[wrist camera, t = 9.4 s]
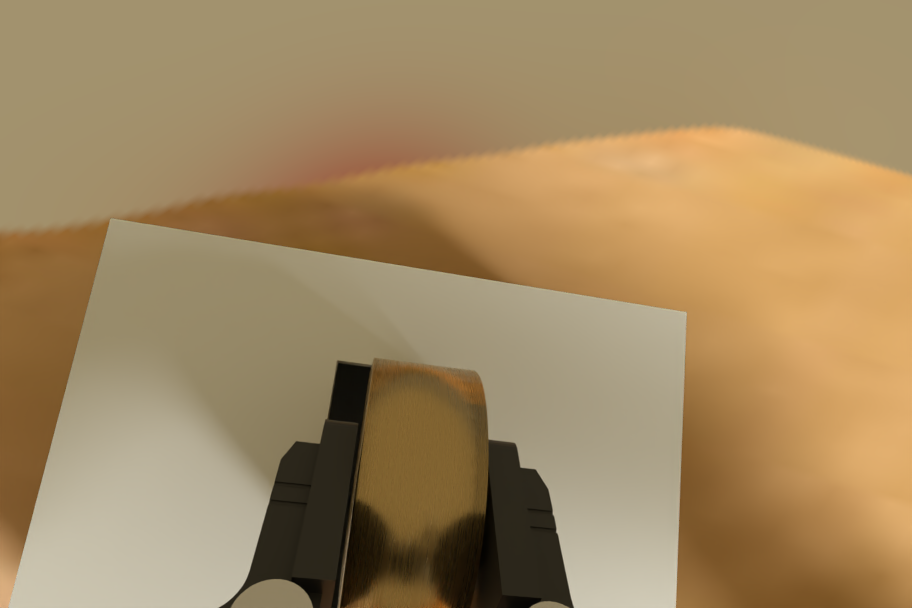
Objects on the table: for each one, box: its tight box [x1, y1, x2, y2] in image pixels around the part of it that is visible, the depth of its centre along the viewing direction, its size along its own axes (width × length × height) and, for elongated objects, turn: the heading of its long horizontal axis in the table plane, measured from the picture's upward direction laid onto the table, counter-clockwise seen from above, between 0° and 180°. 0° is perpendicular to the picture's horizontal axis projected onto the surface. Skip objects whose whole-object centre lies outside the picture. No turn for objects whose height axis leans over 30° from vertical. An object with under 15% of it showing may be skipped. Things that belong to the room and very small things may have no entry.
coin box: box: [8, 218, 687, 608], centre depth 23 cm, size 20×16×10 cm
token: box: [337, 358, 489, 608], centre depth 15 cm, size 2×6×8 cm, turn 173°
